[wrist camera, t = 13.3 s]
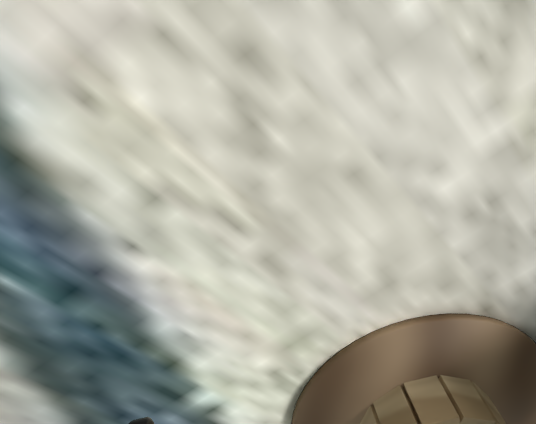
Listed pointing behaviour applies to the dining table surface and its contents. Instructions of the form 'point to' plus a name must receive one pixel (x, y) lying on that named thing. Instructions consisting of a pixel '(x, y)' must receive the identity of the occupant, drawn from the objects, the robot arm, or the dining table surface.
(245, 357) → the dining table surface
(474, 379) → the walnut stand
